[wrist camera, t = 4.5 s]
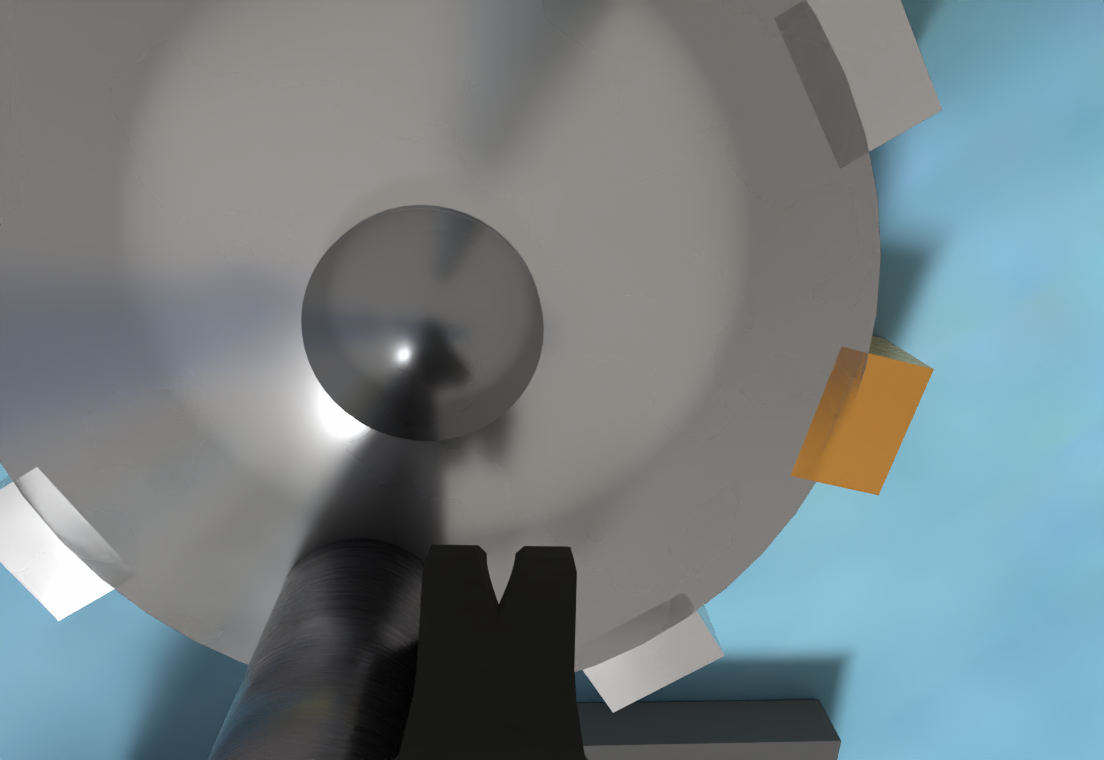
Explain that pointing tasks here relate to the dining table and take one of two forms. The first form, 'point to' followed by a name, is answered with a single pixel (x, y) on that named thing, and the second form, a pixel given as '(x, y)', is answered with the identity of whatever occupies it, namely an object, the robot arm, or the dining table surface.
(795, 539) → the dining table surface
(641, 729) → the pad
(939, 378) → the dining table surface
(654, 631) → the sprocket
